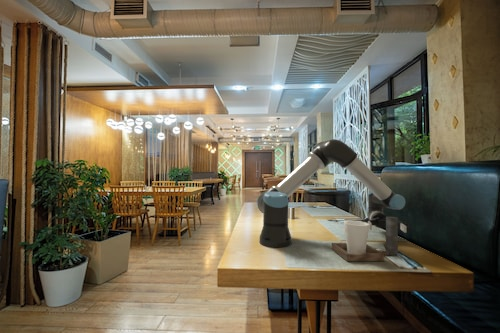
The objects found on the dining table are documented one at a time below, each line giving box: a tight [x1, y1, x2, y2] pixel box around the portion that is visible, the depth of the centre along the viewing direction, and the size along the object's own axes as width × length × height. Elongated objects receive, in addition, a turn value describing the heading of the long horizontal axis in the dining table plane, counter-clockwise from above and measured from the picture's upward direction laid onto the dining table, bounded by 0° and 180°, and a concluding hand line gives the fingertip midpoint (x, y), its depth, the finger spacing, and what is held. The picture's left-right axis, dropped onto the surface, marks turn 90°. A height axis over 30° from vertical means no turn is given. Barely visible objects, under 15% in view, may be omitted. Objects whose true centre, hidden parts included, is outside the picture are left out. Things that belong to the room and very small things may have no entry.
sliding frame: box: [331, 216, 399, 262], centre depth 99 cm, size 24×14×15 cm, turn 94°
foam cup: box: [343, 220, 370, 253], centre depth 99 cm, size 10×9×13 cm
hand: (387, 228), depth 108 cm, fingers open, 13 cm apart
